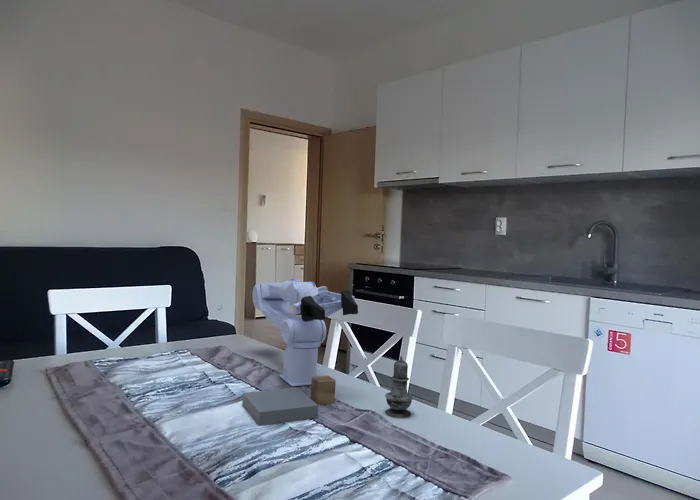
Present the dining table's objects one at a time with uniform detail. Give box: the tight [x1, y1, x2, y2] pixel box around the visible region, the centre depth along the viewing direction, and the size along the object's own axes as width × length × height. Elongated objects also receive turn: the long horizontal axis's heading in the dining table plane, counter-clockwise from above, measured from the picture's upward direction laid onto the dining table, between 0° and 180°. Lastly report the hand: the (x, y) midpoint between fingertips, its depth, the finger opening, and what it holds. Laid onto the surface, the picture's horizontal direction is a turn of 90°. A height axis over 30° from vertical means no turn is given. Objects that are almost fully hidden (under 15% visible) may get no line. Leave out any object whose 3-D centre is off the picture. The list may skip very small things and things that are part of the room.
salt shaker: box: [384, 356, 414, 419], centre depth 101 cm, size 6×6×12 cm
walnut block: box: [310, 375, 337, 406], centre depth 106 cm, size 4×4×5 cm
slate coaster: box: [241, 387, 319, 426], centre depth 99 cm, size 12×12×2 cm
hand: (340, 312), depth 102 cm, fingers open, 7 cm apart
